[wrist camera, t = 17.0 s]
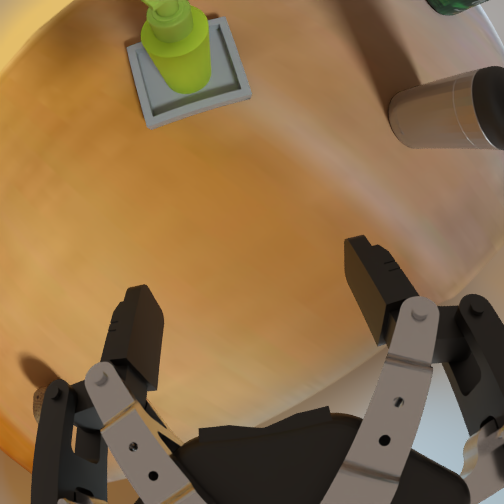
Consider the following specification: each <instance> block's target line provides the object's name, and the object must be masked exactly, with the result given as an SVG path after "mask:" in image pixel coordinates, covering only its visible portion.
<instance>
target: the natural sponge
mask: <svg viewBox="0 0 504 504" xmlns="http://www.w3.org/2000/svg"><path fill="white" fill-rule="evenodd" d="M46 389H47V387H41V388H39V389H38V390H37V391H36V392H35V393H34V396H33V413H34V417H35V419H36V421H37V423H38V424H39V419H40V413H41V408H42V403H43V399H44V394H45V391H46Z"/></svg>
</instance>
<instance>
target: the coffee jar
mask: <svg viewBox="0 0 504 504" xmlns="http://www.w3.org/2000/svg"><path fill="white" fill-rule="evenodd" d="M427 1H428V3H429V4H430V5H431V6H432V7H433V8H434V9H435V10H436V11H437V12H438V13H440V14H442V15H455V14H458V13H460V12H462V11H464V10H467V9H469V8H471V7H474V6H476V5H479V4H481V3H483V2H486V1H489V0H427Z"/></svg>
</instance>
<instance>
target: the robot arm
mask: <svg viewBox="0 0 504 504" xmlns="http://www.w3.org/2000/svg"><path fill="white" fill-rule="evenodd" d="M389 121H390V124H391V127H392V130H393V132H394V133H395V135H396V136H397V138H398V139H399V140H400V141H401V142H402V143H403V144H405V145H406V146H408V147H411V148H416V149H423V148H461V149H495V150H504V68H502V67H499V66H491V67H487V68H482V69H478V70H474V71H470V72H466V73H462V74H458V75H455V76H451V77H447V78H444V79H440V80H437V81H433V82H430V83H427V84H423V85H420V86H417V87H413V88H410V89H407V90H404V91H401V92H399V93H397V94H396V95H395V96H394V97H393V98H392V100H391V102H390V105H389ZM344 262H345V276H346V279H347V282H348V285H349V287H350V289H351V291H352V293H353V295H354V297H355V299H356V301H357V303H358V305H359V307H360V309H361V311H362V314H363V316H364V318H365V320H366V322H367V324H368V326H369V329H370V331H371V333H372V335H373V337H374V340H375V342H376V344H377V346H381V345H384V344H387V346H388V348H389V351H388V354H387V357H386V360H385V363H384V366H383V369H382V371H381V374H380V377H379V380H378V383H377V386H376V388H375V391H374V394H373V396H372V399H371V401H370V404H369V407H368V409H367V412H366V414H365V416H364V419H362V418H360V417H356V416H353V415H349V414H343V413H330V410H329V406H326V407H322V408H318V409H314V410H310V411H306V412H302V413H297V414H294V415H292V416H290V417H288V418H286V419H284V420H282V421H279V422H277V423H275V424H272V425H270V426H268V427H265V428H253V427H242V426H232V425H227V426H219V427H209V428H199V436H198V437H196V438H193V439H191V440H189V441H188V442H186V443H184V442H183V441H182V440H181V439H179V438H178V437H177V436H176V435H175V434H174V433H173V432H172V430H171V429H170V428H169V427H168V425H167V424H166V423H165V422H164V420H163V419H162V418H161V416H160V415H159V414H158V412H157V411H156V410H155V408H154V407H153V406H152V404H151V403H150V401H149V400H148V399H147V398H146V397H147V391H155V390H157V386H158V374H159V364H160V354H161V345H162V336H163V328H164V316H163V313H162V310H161V308H160V306H159V305H158V303H157V301H156V300H155V298H154V296H153V295H152V293H151V291H150V289H149V288H148V286H147V285H145V284H144V285H139V286H135V287H130V288H128V289H127V291H126V295H125V298H124V301H123V302H120V303H119V305H118V306H117V307H116V309H115V310H114V312H113V315H112V319H111V324H110V326H109V330H108V331H109V332H108V333H107V337H106V341H105V345H104V349H103V353H102V357H101V361H100V362H99V363H97V364H95V365H94V366H92V367H91V368H90V369H89V371H88V372H87V374H86V377H85V380H83V381H80V382H78V383H75V384H73V385H69V384H68V383H67V382H66V381H64V380H62V379H57V380H55V381H53V382H52V383H51V384H50V385H49V386H48V387H47V389H46V391H45V394H44V399H43V403H42V408H41V413H40V419H39V424H38V431H37V437H36V444H35V452H34V461H33V471H32V485H31V504H108V503H107V454H108V447H109V449H110V451H111V453H112V454H113V456H114V458H115V459H116V461H117V463H118V464H119V466H120V468H121V469H122V471H123V473H124V474H125V476H126V477H127V479H128V480H129V482H130V483H131V485H132V486H133V488H134V489H135V491H136V492H137V494H138V495H139V498H138V500H137V501H136V502H135V503H134V504H478V503H480V502H481V501H483V500H485V499H486V498H488V497H489V496H491V495H493V494H494V493H496V492H497V491H499V490H500V489H502V488H504V325H503V323H502V322H501V320H500V318H499V317H498V315H497V314H496V312H495V310H494V309H493V307H492V306H491V304H490V303H489V302H488V300H486V299H485V298H484V297H482V296H480V295H477V294H469V295H466V296H464V297H463V298H462V300H461V301H460V304H459V306H436V304H435V303H434V302H433V301H431V300H430V299H428V298H425V297H421V296H419V295H418V293H417V292H416V290H415V289H414V287H413V286H412V284H411V283H410V281H409V280H408V278H407V277H406V275H405V274H404V272H403V271H402V269H400V267H399V265H398V264H397V262H395V260H394V258H393V257H392V255H391V254H390V253H389V251H387V250H386V249H384V248H383V247H381V246H380V245H374V246H371V244H370V243H369V241H368V240H367V238H366V237H365V236H364V235H360V236H356V237H352V238H348V239H345V241H344ZM432 363H442V365H443V367H444V370H445V372H446V374H447V377H448V379H449V382H450V384H451V386H452V389H453V391H454V394H455V397H456V399H457V402H458V404H459V407H460V410H461V412H462V415H463V418H464V421H465V424H466V427H467V429H468V432H469V435H470V437H469V439H468V440H467V442H466V443H465V446H464V450H463V457H464V466H463V469H462V472H461V474H460V475H458V474H457V473H455V472H453V471H451V470H449V469H447V468H446V467H444V466H442V465H440V464H438V463H436V462H435V461H433V460H431V459H429V458H427V457H425V456H424V455H422V454H420V453H419V452H417V451H415V450H413V449H412V448H411V447H412V444H413V441H414V438H415V436H416V432H417V429H418V426H419V423H420V420H421V416H422V413H423V410H424V406H425V402H426V399H427V395H428V391H429V387H430V383H431V378H432V373H433V367H431V364H432ZM73 425H74V426H76V427H77V434H76V444H75V453H74V452H73V450H72V447H71V440H72V431H73Z"/></svg>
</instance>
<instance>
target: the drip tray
mask: <svg viewBox="0 0 504 504" xmlns="http://www.w3.org/2000/svg"><path fill="white" fill-rule="evenodd" d="M208 24H209V41H210V58H211V77H210V80H209V82H208V83H207V84H206V86H205V87H204V88H202V89H201V90H199V91H197V92H195V93H191V94H180V93H177V92H175V91H173V90H172V89H170V88H169V86H168V85H167V83H166V82H165V80H164V79H163V77H162V75H161V74H160V72H159V70H158V69H157V67H156V66H155V64H154V62H153V61H152V59H151V58H150V56H149V54H148V53H147V51H146V49H145V48H144V46H143V44H142V42H139V43H136V44H134V45H131V46H129V47H126V48H127V52H128V56H129V60H130V65H131V69H132V73H133V77H134V81H135V85H136V88H137V92H138V96H139V100H140V103H141V107H142V111H143V114H144V118H145V121H146V125H147V128H149V129H151V130H152V129H155V128H158V127H160V126H163V125H166V124H168V123H171V122H174V121H177V120H180V119H183V118H186V117H189V116H192V115H195V114H198V113H201V112H204V111H208V110H211V109H214V108H218V107H221V106H225V105H228V104H232V103H236V102H239V101H243V100H247V99H250V98H251V96H252V93H251V90H250V86H249V83H248V80H247V77H246V74H245V71H244V68H243V65H242V63H241V60H240V57H239V54H238V51H237V48H236V45H235V42H234V40H233V37H232V34H231V31H230V28H229V26H228V23H227V20H226V17H220V18H216V19H212V20H208Z"/></svg>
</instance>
